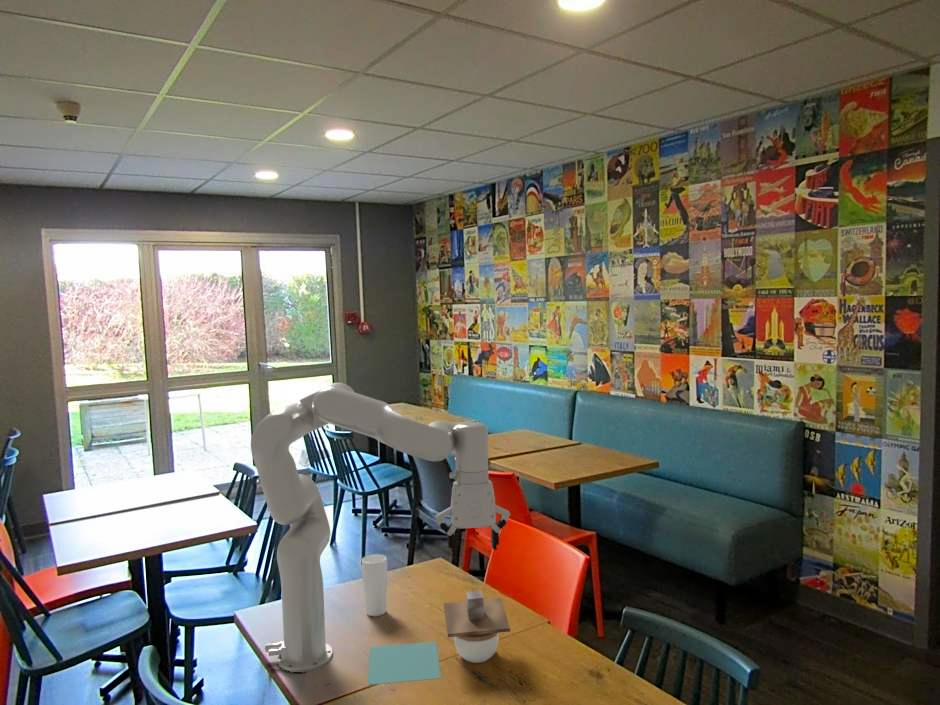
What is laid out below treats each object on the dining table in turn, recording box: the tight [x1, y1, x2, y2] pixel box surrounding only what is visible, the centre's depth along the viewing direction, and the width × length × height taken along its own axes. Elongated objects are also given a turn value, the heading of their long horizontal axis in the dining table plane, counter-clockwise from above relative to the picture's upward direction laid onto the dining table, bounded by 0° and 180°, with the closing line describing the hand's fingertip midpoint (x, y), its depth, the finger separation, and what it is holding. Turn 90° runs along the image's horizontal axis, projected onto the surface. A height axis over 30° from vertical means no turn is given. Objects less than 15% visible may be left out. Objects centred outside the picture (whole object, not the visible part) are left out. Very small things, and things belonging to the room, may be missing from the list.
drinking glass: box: [361, 553, 388, 617], centre depth 175 cm, size 7×7×15 cm
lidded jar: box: [453, 633, 500, 664], centre depth 152 cm, size 11×11×9 cm
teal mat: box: [367, 641, 442, 686], centre depth 150 cm, size 16×16×1 cm
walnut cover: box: [443, 590, 511, 638], centre depth 151 cm, size 14×14×6 cm
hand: (473, 549), depth 150 cm, fingers open, 9 cm apart
